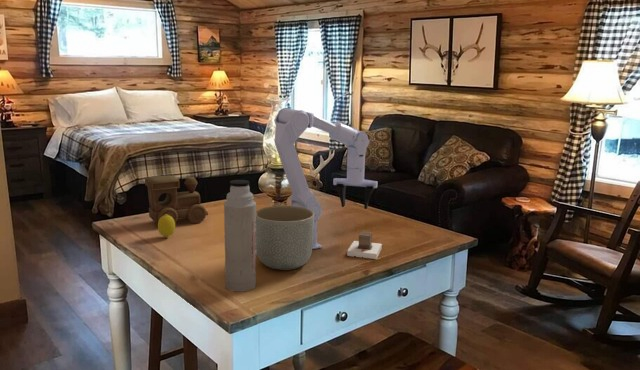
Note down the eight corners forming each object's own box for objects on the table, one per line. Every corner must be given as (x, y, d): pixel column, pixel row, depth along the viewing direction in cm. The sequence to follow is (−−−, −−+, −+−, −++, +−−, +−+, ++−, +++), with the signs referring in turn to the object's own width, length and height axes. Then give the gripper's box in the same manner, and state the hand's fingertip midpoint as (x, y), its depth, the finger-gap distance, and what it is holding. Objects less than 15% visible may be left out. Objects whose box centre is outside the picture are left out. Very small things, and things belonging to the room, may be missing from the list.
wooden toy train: (153, 230, 188) (151, 182, 184) (145, 221, 197) (143, 176, 194) (209, 222, 198) (209, 177, 194) (199, 214, 207) (198, 171, 204)
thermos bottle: (259, 281, 147) (260, 178, 141) (250, 293, 139) (250, 185, 133) (231, 278, 149) (230, 176, 142) (220, 289, 141) (218, 183, 135)
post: (369, 254, 169) (370, 236, 168) (357, 253, 170) (358, 234, 169) (371, 250, 173) (372, 232, 171) (360, 249, 174) (361, 231, 172)
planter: (282, 250, 172) (283, 202, 168) (324, 263, 161) (326, 213, 158) (242, 264, 159) (242, 213, 155) (285, 280, 148) (286, 225, 145)
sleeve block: (376, 259, 166) (376, 253, 165) (347, 255, 168) (347, 250, 167) (381, 248, 175) (381, 243, 175) (353, 245, 177) (354, 240, 177)
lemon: (154, 238, 179) (153, 214, 177) (166, 234, 184) (165, 211, 182) (167, 241, 177) (166, 217, 175) (179, 236, 181) (178, 213, 180)
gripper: (379, 166, 182) (378, 206, 185) (337, 163, 186) (336, 202, 189) (376, 170, 176) (374, 211, 179) (332, 167, 179) (331, 207, 182)
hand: (354, 207), depth 183 cm, fingers open, 7 cm apart
